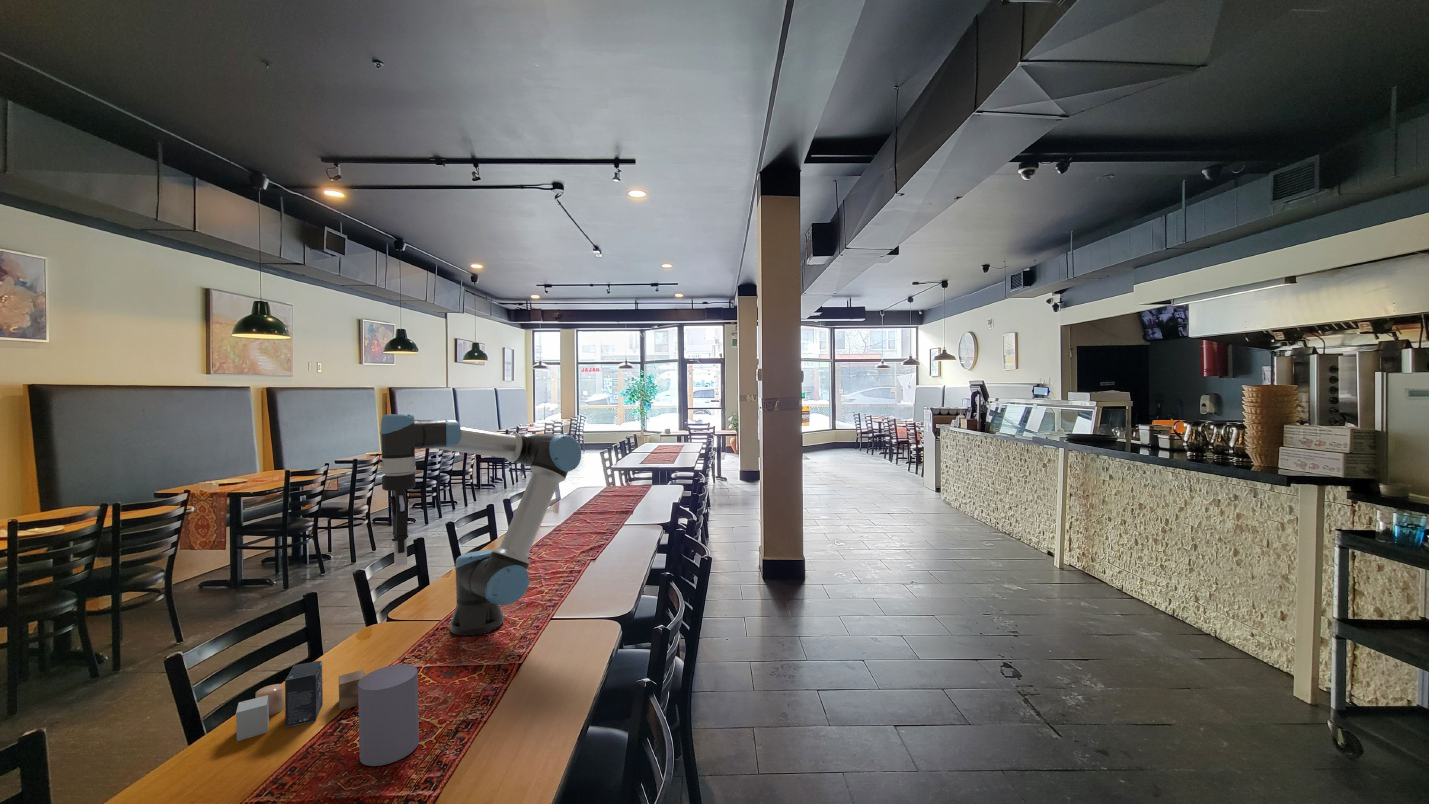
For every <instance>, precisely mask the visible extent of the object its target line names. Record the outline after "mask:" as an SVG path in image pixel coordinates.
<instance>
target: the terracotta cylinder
mask: <svg viewBox="0 0 1429 804" xmlns="http://www.w3.org/2000/svg"><path fill="white" fill-rule="evenodd" d="M284 685H285V684H283V683H282V684H281V683H276V684H271V685H266V686H264V687H262V688H259V689H258V690H257V691H255V698H258V697H262V696H266V695H268V702H269V717H272V716H274V715H277V714H279V713H281V712H282V711H283V710H285V686H284Z"/></svg>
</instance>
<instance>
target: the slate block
mask: <svg viewBox="0 0 1429 804" xmlns="http://www.w3.org/2000/svg"><path fill="white" fill-rule="evenodd" d="M269 721H270V716H269V702H268V695H266V696H262V697H258V698H256V697H255V698H251V699H247V700H243V701H239V702H238V704H237V708H236V712H235V724H236V726H235V727H236V728H235V729H236V732H235V733H236V742H239V741H242V740H245V739H249V738H252V737H255V736H260V735H262V734H267V733H268V731H269V724H270V722H269Z"/></svg>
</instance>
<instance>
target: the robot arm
mask: <svg viewBox="0 0 1429 804" xmlns="http://www.w3.org/2000/svg"><path fill="white" fill-rule="evenodd" d="M380 422H381V423H380V432H379V433H380V434H379V435H380V443H381V444H380V445H381V447H380V448H381V461H380V462H378V465H379V466H380V467H381V473H382V474H384V475H382V476H381V489H382V490H383V491H386V492H392V495H390V496H389V502H390V512H391V517H392V519H391V520H392V521H391V522H392V535H393V538H391V542H393V552H394V553H393V556H394V559H393V561H394V562H393V564H394V566H395V567H398V566H405V565H408V552H407V551H408V549H407V548H408V544H407V540H408V538H409V534H408V522H409V521H408V518H409V517H408V514H409V513H408V512H409V502H410V497H409V495H408V494H406V490H410V489H414V488H415V487H416V474H415V473H414V472H415V471H416V455H415V453H416V450H422V449H435V450H444V451H450V452H458V453H466V454H472V455H473V454H474V455H481V456H489V457H496V458H505V459H506V460H507V461H508V462H511V463H518V464H522V465H526V466H529V468H530V470H531V473H532V474H531V477H530V479H529V481H528V482H527V485H526V487H525V490H524V492H523V495H522V496H521V499H520V501H519V504H518V505H517V507H516V510H515V513H514V515H513V516H512V519H511V521H510V524H509V526H508V527H507V530H506V533H505V534H504V537H503V539H502V541H501V544H500V545H499V547H497V548H496V549H485V550H483V549H481V550H477V551H470V552H467V553H464V554H462V555H461V554H460V555H459V556H458V557H457V558H456V560H455V566H454V567H455V568H454V569H455V592H456V593H455V594H456V606H455V609H454V612H453V616H452V618H451V621H450V632H451V634H453V635H455V636H460V635H461V636H462V635H465V636H464V637H467V636H466V635H472V636H476V635H475V634H479V635H482V634H481V633H484V632H487V633H489V632H488V631H490V632H492V631H491V630H493V629H495V628H497V627H499V626H500V625H501V624H502V623H504V613H503V611H502V608H501V606H508V605H511V604H514V603H515V602H517V601H519V600H520V599H521V598H522V597H523V596H524V595H525V593H526V592H527V590H528V589H529V588H528V587H529V585H530V577H529V573H528V569H529V567H530V565H531V562H530V559H529V557H528V556H529V553H530V550H531V548H532V546H533V544H534V541H535V538H536V537H537V534H538V532H539V530H540V527H541V525H542V522H543V520H544V518H545V516H546V513H547V511H548V508H549V506H550V504H551V502H552V499H553V496H554V494H555V492H556V489H557V487H558V485H559V483H562V482H564V481H565V480H566V478H567V475H568V474H569V472H572V471H574V470H575V469H577V467H578V466H579V464H580V462H581V460H582V459H581V458H582V449H581V447H580V443H579V442H578V441H577V439H575V438H574V437H573V436H572V435H568V434H563V433H520V432H519V433H518V432H513V433H511V434H505V433H500V432H494V431H487V430H480V429H475V428H469V427H463V426H461V424H460V423H459V422H458V421H457V420H455V419H447V418H446V419H435V420H434V419H423V420H422V419H421V420H420V419H415V416H414V415H413V414H412V413H405V414H404V413H403V414H401V413H399V414H394V413H393V414H384V415H383V416H382V418H381V420H380ZM502 625H503V624H502ZM502 625H501V626H502ZM501 626H500V627H501ZM500 627H499V628H500ZM497 629H498V628H497ZM495 630H496V629H495ZM493 631H494V630H493ZM484 634H485V633H484Z"/></svg>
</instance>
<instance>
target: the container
mask: <svg viewBox="0 0 1429 804" xmlns="http://www.w3.org/2000/svg"><path fill="white" fill-rule="evenodd" d="M364 675H365V674H364ZM418 678H419V677H418V668H417V667H416V665H415V666H414V665H412V664H407V663H405V664H403V663H402V664H393V665H389V666H384V667H381V668H378V669H375V670H373V671H371V672H368V673H367V674H366V675H365V676H364V677H362V678H361V679H360V680H359V682H358V703H359V705H358V742H359V761H360V763H361V764H362V765H365V766H369V767H381V766H386V765H389V764H392V763H396V762H398V761H400V760H402V759H404V758H406V757H407V756H409V755H410V754H411V753H413V752H414V751H415V750H416V748H417V747H418V746H419V743H420V729H419V728H420V726H419V723H420V722H419V720H420V719H419V687H418V686H419V684H418V683H419V682H418Z"/></svg>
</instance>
